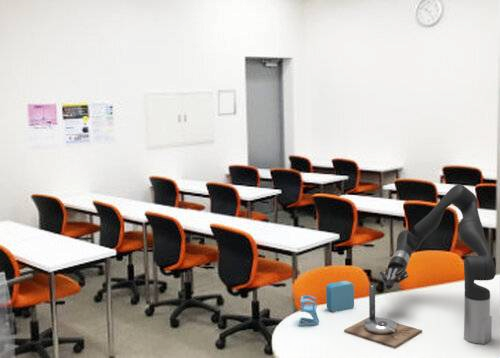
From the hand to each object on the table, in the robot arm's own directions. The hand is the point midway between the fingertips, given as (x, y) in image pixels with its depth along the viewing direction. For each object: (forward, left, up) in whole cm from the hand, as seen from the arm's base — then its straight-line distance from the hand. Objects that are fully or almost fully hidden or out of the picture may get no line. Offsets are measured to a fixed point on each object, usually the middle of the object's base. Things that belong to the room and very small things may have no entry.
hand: (388, 287), depth 245 cm
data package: (+25, 0, -16) cm, 30 cm away
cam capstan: (-4, +10, -14) cm, 18 cm away
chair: (+25, +22, -16) cm, 37 cm away
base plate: (-4, +10, -15) cm, 19 cm away
